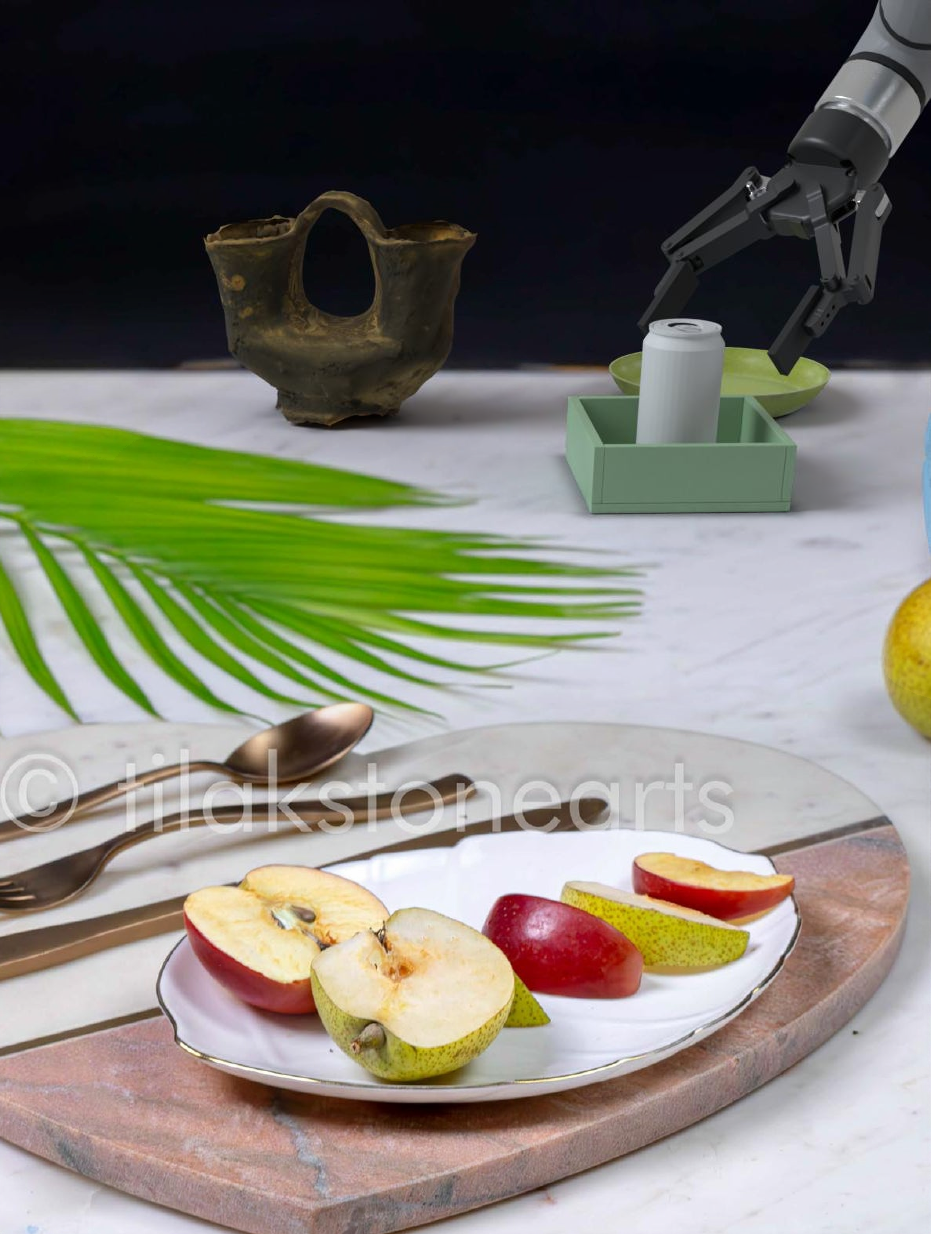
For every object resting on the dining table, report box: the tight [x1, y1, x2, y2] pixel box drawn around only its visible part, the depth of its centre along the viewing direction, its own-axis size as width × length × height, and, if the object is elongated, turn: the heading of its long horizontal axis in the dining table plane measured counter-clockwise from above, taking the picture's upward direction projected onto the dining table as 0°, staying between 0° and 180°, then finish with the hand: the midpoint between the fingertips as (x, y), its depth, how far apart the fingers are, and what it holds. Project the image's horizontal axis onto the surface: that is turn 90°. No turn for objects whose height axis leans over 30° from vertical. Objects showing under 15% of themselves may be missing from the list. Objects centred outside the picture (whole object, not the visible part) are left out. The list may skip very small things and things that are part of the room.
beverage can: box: [636, 318, 726, 444], centre depth 136 cm, size 6×6×12 cm
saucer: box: [608, 346, 832, 419], centre depth 162 cm, size 21×21×3 cm
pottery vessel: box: [203, 190, 478, 427], centre depth 154 cm, size 25×11×20 cm, turn 76°
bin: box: [564, 395, 798, 514], centre depth 138 cm, size 16×16×5 cm
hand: (709, 350), depth 136 cm, fingers open, 13 cm apart
